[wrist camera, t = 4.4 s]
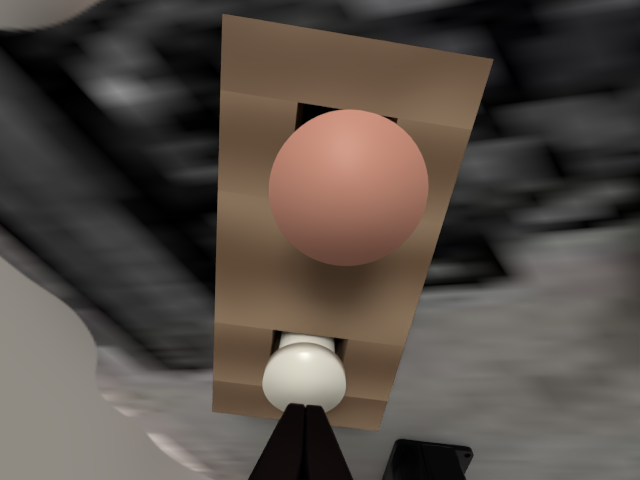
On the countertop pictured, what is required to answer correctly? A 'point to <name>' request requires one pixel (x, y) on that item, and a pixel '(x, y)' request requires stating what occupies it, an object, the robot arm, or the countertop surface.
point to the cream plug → (304, 372)
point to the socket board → (271, 245)
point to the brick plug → (348, 187)
